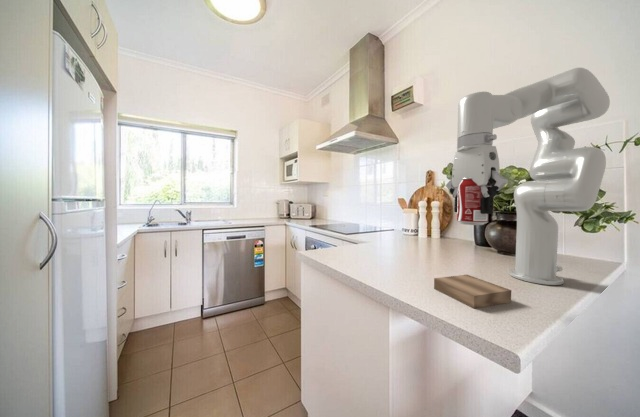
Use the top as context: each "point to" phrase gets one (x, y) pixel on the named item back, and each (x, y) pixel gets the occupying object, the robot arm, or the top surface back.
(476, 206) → the soda can
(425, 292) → the top surface
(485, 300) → the base block
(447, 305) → the top surface
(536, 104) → the robot arm
